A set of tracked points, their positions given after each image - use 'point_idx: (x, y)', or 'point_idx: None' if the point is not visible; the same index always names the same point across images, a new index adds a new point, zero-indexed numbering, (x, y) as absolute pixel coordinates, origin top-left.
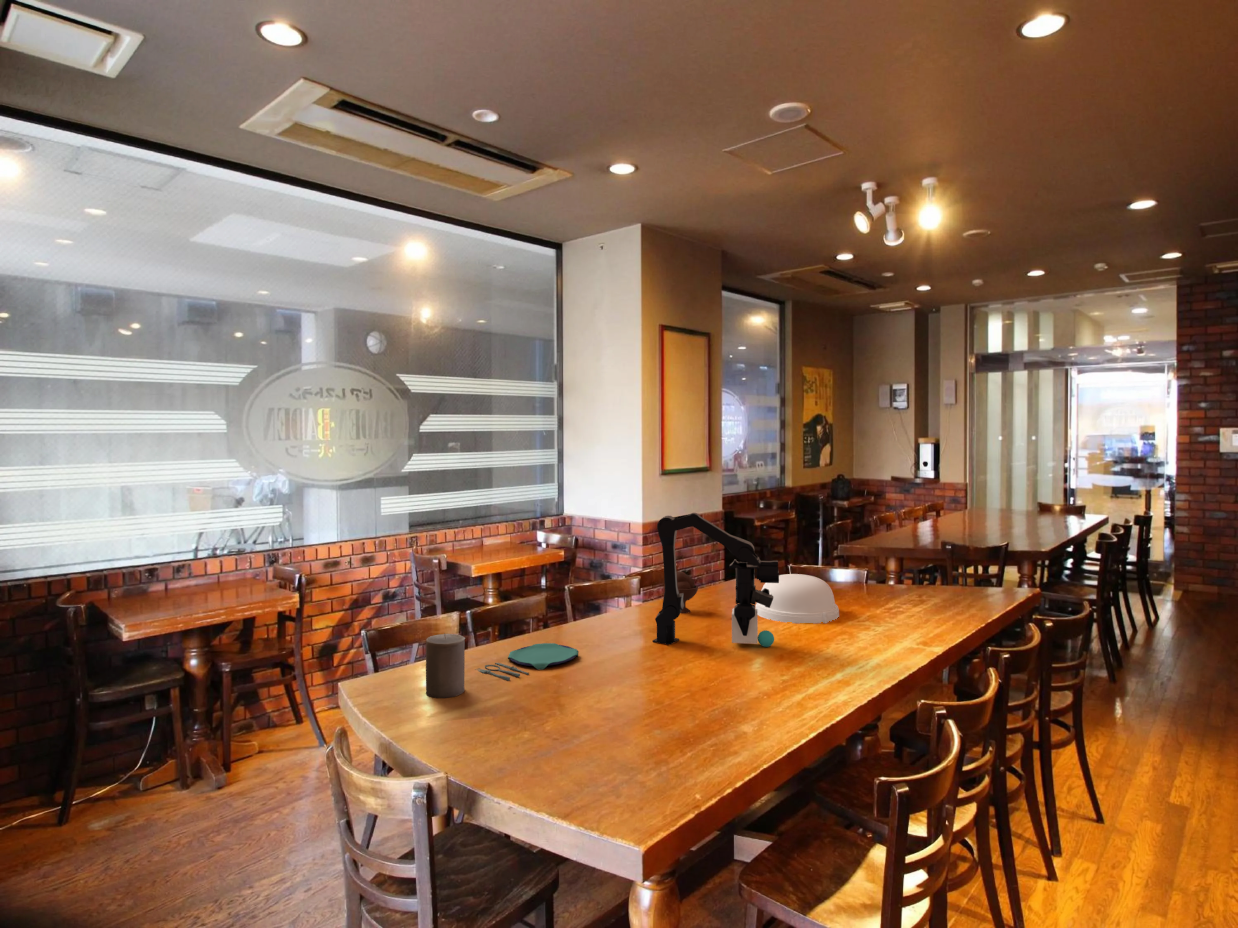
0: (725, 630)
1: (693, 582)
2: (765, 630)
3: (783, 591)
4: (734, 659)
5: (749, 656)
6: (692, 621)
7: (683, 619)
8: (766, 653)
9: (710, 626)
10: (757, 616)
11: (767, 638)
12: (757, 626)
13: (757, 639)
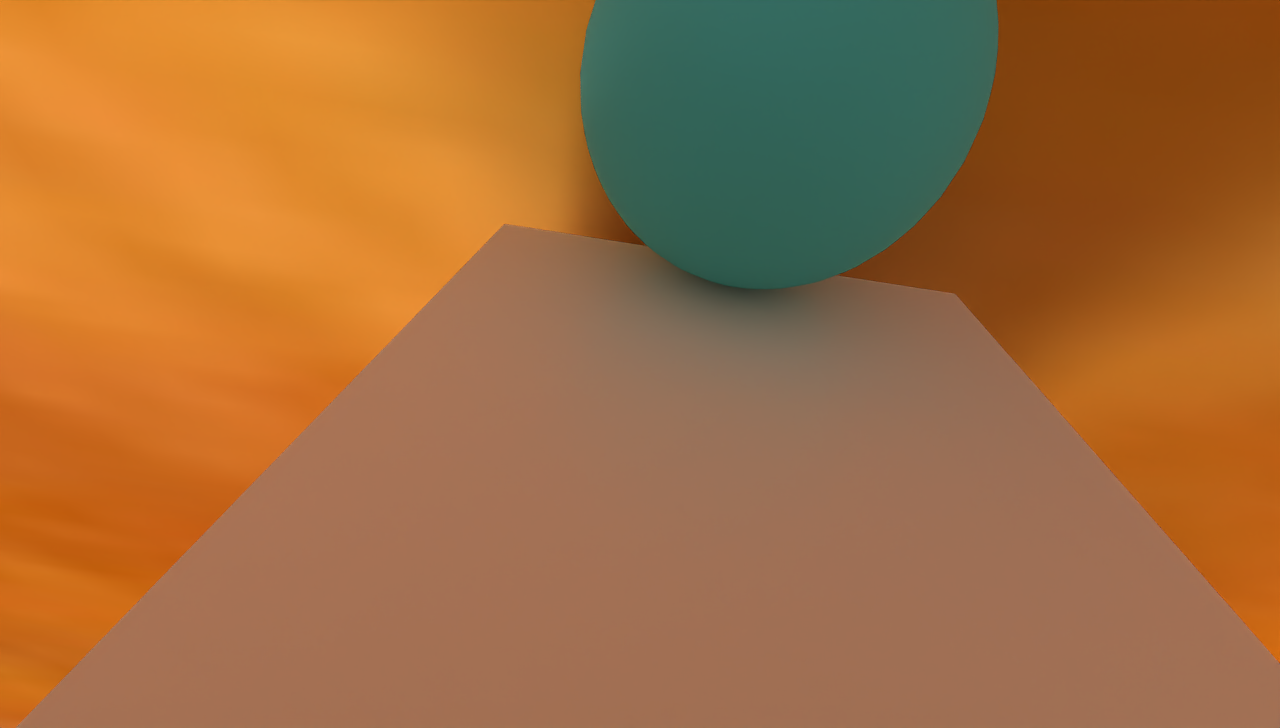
0: (133, 466)
1: None
2: (768, 142)
3: None
4: (1237, 552)
5: (1209, 401)
6: (30, 620)
7: (23, 651)
8: (1181, 133)
9: (82, 548)
10: (217, 538)
11: (990, 92)
12: (654, 392)
13: (909, 311)
